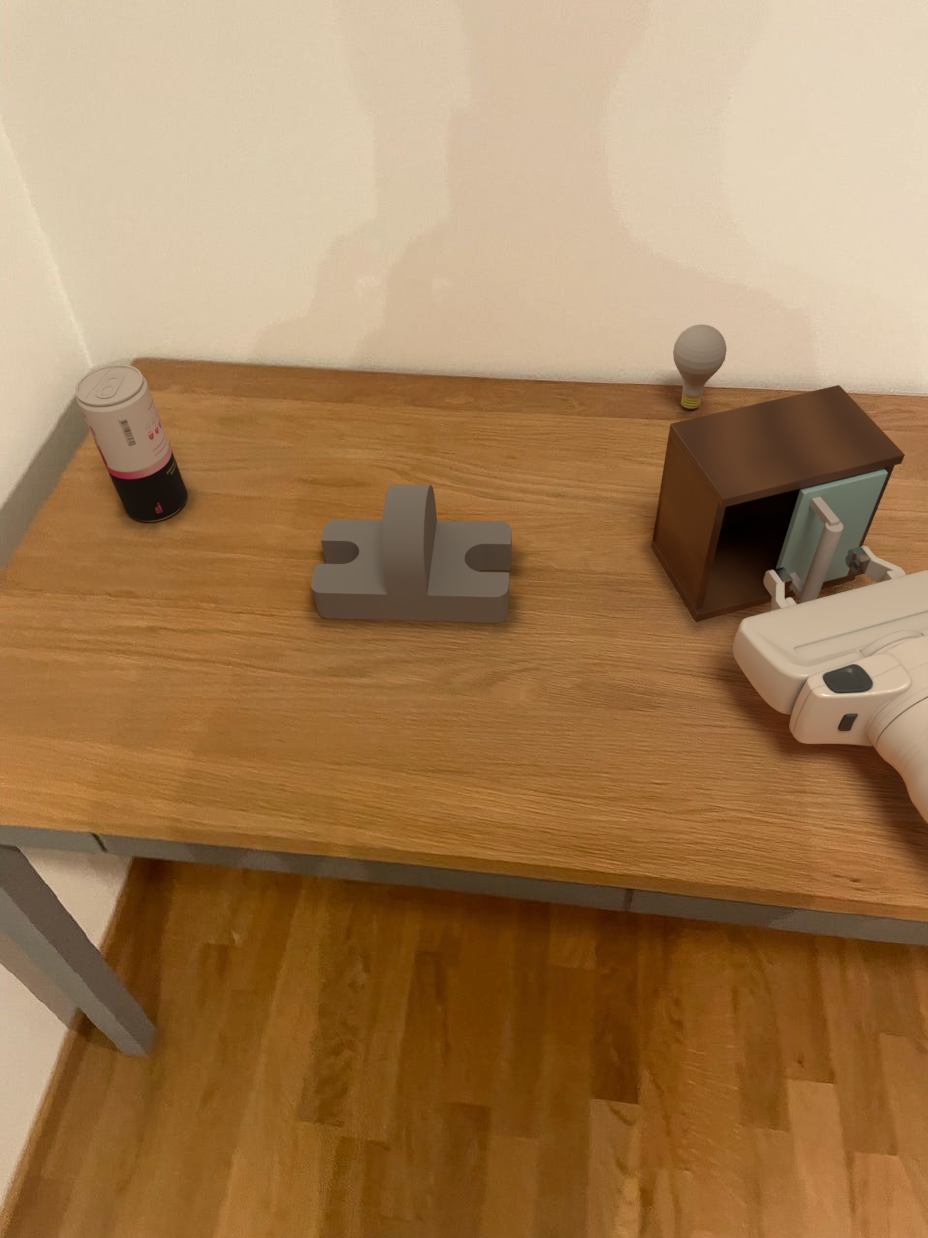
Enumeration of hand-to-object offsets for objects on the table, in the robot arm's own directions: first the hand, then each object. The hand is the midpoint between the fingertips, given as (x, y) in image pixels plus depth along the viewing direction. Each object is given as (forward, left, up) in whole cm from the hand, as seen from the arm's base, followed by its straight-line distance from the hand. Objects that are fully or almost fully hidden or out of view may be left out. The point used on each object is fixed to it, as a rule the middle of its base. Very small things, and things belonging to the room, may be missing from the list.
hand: (813, 563), depth 78 cm
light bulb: (-18, -26, -7) cm, 32 cm away
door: (-2, +1, -6) cm, 6 cm away
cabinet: (-3, -7, -7) cm, 10 cm away
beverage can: (+33, -56, -7) cm, 65 cm away
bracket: (+21, -28, -7) cm, 36 cm away
